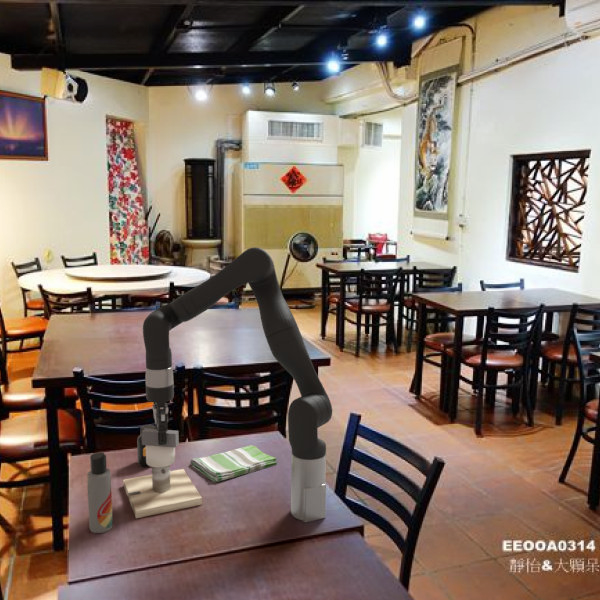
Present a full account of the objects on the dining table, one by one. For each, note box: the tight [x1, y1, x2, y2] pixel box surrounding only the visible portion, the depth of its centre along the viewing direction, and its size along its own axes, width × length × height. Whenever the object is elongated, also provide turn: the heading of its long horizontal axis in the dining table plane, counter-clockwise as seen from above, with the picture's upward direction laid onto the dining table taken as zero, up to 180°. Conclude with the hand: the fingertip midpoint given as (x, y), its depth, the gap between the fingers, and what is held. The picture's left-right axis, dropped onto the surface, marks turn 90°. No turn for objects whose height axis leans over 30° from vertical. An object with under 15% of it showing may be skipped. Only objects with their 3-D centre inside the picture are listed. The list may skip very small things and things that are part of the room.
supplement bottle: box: [136, 424, 156, 468], centre depth 190 cm, size 7×7×12 cm
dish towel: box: [190, 444, 278, 483], centre depth 190 cm, size 17×23×4 cm
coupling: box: [142, 428, 180, 468], centre depth 167 cm, size 10×8×9 cm
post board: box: [122, 465, 203, 519], centre depth 169 cm, size 20×18×10 cm
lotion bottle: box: [86, 451, 113, 534], centre depth 151 cm, size 6×6×20 cm
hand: (161, 440), depth 167 cm, fingers closed on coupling, 4 cm apart
